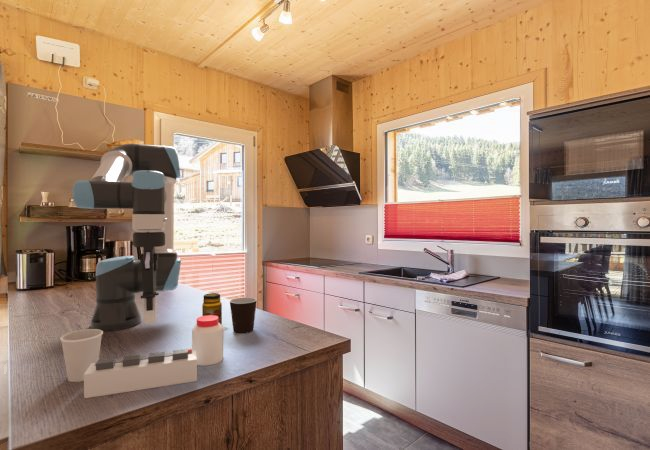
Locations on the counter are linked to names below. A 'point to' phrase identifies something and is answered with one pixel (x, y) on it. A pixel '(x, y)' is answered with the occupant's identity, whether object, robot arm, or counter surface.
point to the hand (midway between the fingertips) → (150, 321)
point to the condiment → (212, 306)
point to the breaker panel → (140, 372)
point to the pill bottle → (208, 340)
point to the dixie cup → (80, 351)
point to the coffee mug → (243, 314)
